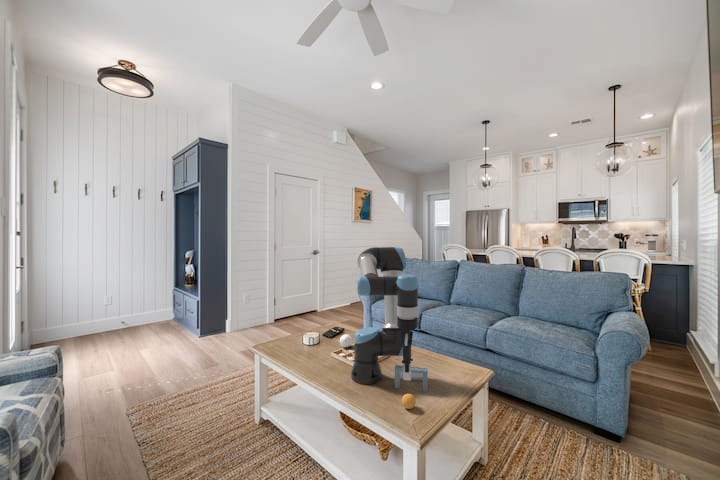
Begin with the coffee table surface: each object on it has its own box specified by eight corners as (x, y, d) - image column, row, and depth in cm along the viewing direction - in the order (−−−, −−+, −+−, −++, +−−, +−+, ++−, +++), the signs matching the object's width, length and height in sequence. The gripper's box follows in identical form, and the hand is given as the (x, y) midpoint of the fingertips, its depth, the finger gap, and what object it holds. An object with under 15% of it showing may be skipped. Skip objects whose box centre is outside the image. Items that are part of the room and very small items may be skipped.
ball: (401, 410, 123) (401, 397, 123) (402, 403, 129) (402, 390, 128) (415, 412, 122) (415, 399, 122) (415, 404, 127) (415, 391, 127)
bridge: (427, 391, 138) (427, 371, 138) (394, 387, 141) (394, 368, 141) (427, 388, 141) (427, 368, 141) (395, 384, 144) (395, 365, 144)
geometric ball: (342, 351, 190) (335, 341, 190) (349, 343, 196) (342, 333, 196) (350, 348, 185) (342, 338, 185) (357, 340, 191) (349, 330, 191)
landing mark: (398, 378, 150) (398, 378, 150) (400, 366, 162) (400, 366, 162) (425, 381, 147) (425, 381, 147) (426, 369, 160) (426, 369, 160)
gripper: (416, 322, 108) (416, 389, 108) (418, 312, 120) (418, 372, 121) (395, 321, 109) (395, 386, 110) (398, 311, 122) (398, 370, 123)
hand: (407, 379), depth 116 cm, fingers closed
